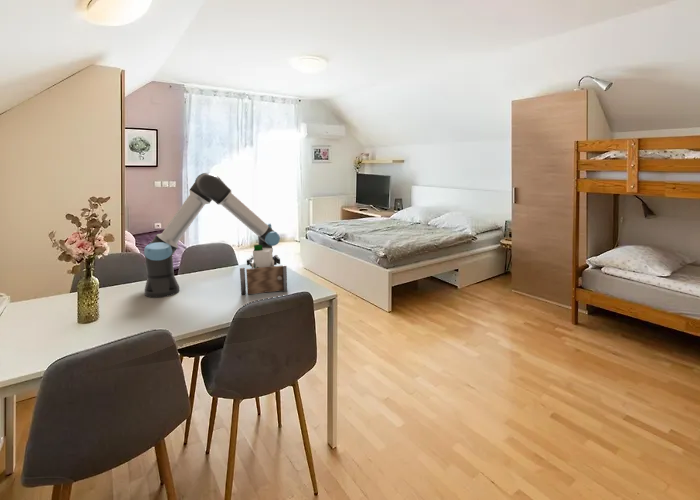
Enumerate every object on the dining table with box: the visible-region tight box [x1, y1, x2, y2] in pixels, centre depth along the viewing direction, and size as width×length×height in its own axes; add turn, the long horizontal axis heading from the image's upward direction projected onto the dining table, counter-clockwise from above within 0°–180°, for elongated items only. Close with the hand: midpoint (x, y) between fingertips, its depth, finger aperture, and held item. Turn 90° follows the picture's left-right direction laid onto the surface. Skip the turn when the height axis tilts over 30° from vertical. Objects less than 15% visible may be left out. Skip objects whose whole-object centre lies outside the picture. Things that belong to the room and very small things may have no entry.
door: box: [246, 265, 283, 295], centre depth 191 cm, size 18×4×12 cm, turn 111°
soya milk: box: [252, 244, 274, 268], centre depth 197 cm, size 9×9×20 cm
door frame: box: [239, 264, 288, 296], centre depth 190 cm, size 22×2×13 cm, turn 106°
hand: (262, 265), depth 193 cm, fingers closed on soya milk, 9 cm apart
